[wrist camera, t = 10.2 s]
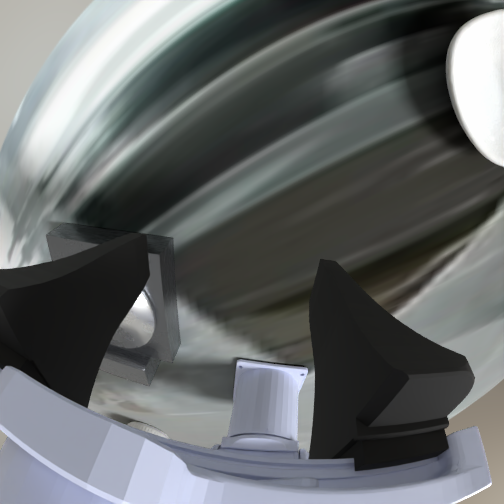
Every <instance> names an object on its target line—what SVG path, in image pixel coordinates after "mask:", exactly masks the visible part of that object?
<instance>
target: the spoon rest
mask: <svg viewBox="0 0 504 504" xmlns="http://www.w3.org/2000/svg"><path fill="white" fill-rule="evenodd" d="M446 79H447V86H448V91H449V95H450V99H451V102H452V106H453V109H454V111H455V114H456V116H457V119H458V121H459V123H460V125H461V127H462V128H463V130H464V132H465V133H466V135H467V136H468V138H469V139H470V141H471V142H472V143H473V145H474V146H475V147H476V149H477V150H478V151H479V152H480V153H481V154H482V155H483V156H484V157H486V158H487V159H488V160H490V161H491V162H493V163H495V164H497V165H500V166H503V167H504V9H500V10H495V11H492V12H488V13H485V14H482V15H479V16H477V17H475V18H473V19H471V20H470V21H468V22H467V23H465V24H464V25H463V26H462V27H461V28H460V29H459V30H458V31H457V32H456V34H455V35H454V37H453V39H452V40H451V43H450V45H449V48H448V52H447V58H446Z"/></svg>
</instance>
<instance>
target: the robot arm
mask: <svg viewBox="0 0 504 504" xmlns="http://www.w3.org/2000/svg"><path fill="white" fill-rule="evenodd" d="M149 277H150V269H149V259H148V248H147V236H146V234H141V233H130V234H126V235H123V236H120V237H118V238H115V239H112V240H110V241H107V242H105V243H102V244H100V245H97V246H95V247H92V248H90V249H87V250H84V251H82V252H79V253H77V254H74V255H71V256H68V257H65V258H61V259H58V260H55V261H51V262H46V263H42V264H37V265H33V266H27V267H21V268H13V269H0V430H1V431H2V432H4V433H5V434H6V435H7V436H8V437H7V439H6V441H5V443H4V445H3V446H2V448H1V450H0V504H455V503H457V502H460V501H462V500H464V499H466V498H468V497H470V496H472V495H474V494H476V493H478V492H480V491H482V490H483V489H485V488H487V487H489V486H490V485H491V484H492V481H491V476H490V472H489V467H488V463H487V458H486V455H485V451H484V447H483V444H482V440H481V437H480V433H479V430H478V427H477V426H473V427H470V428H467V429H463V430H460V431H456V432H454V433H452V434H450V435H448V436H446V434H445V430H444V429H445V428H447V427H448V425H449V421H448V418H447V415H448V414H449V413H450V412H452V411H453V410H454V409H455V408H456V407H457V406H458V405H459V404H460V403H461V402H462V401H463V400H464V398H465V397H466V396H467V395H468V394H469V392H470V390H471V389H472V387H473V384H474V380H475V377H474V374H473V372H472V370H471V368H470V365H469V363H468V361H467V359H466V357H465V356H463V355H461V354H458V353H456V352H454V351H451V350H449V349H447V348H444V347H442V346H440V345H438V344H436V343H434V342H432V341H431V340H429V339H427V338H425V337H423V336H422V335H420V334H418V333H416V332H415V331H413V330H412V329H410V328H409V327H407V326H406V325H404V324H403V323H401V322H400V321H399V320H397V319H396V318H395V317H393V316H392V315H391V314H389V313H388V312H387V311H386V310H384V309H383V308H382V307H381V306H380V305H379V304H377V303H376V302H375V301H374V300H373V299H372V298H371V297H370V296H369V295H368V294H367V293H366V292H365V291H364V290H363V289H362V288H361V287H360V286H359V285H358V284H357V283H356V282H355V281H354V280H353V279H352V278H351V277H350V276H349V275H348V273H347V272H346V271H345V270H344V269H343V268H342V267H341V266H340V265H339V264H338V263H337V262H336V261H331V260H324V259H320V263H319V267H318V271H317V274H316V278H315V282H314V286H313V289H312V293H311V297H310V302H309V322H310V331H311V339H312V348H313V356H314V365H315V397H314V415H313V426H312V436H311V444H310V451H309V453H308V452H306V450H305V449H300V450H299V455H298V448H299V441H297V428H298V394H299V391H300V389H301V387H302V385H303V382H304V380H305V378H306V375H307V373H308V369H307V368H306V367H297V366H288V365H279V364H271V363H263V362H256V361H249V360H242V359H240V360H237V364H236V373H235V383H234V393H233V402H234V405H233V410H232V415H231V420H230V426H229V431H228V436H227V437H223V438H222V443H221V445H219V444H216V445H214V446H213V447H212V448H211V449H209V448H205V447H200V446H196V445H191V444H187V443H183V442H179V441H175V440H172V439H168V438H165V437H161V436H158V435H155V434H152V433H148V432H145V431H142V430H139V429H137V428H134V427H131V426H128V425H126V424H123V423H120V422H118V421H115V420H113V419H111V418H108V417H106V416H103V415H101V414H99V413H96V412H94V411H92V410H90V409H88V404H89V400H90V396H91V392H92V389H93V385H94V382H95V379H96V376H97V373H98V370H99V368H100V365H101V363H102V360H103V358H104V355H105V353H106V351H107V349H108V346H109V344H110V342H111V340H112V338H113V336H114V334H115V333H116V331H117V329H118V328H119V326H120V324H121V323H122V321H123V320H124V318H125V317H126V315H127V314H128V312H129V311H130V309H131V308H132V307H133V305H134V304H135V302H136V301H137V299H138V298H139V296H140V295H141V293H142V291H143V289H144V287H145V285H146V283H147V281H148V279H149Z"/></svg>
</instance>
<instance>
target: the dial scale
mask: <svg viewBox="0 0 504 504" xmlns="http://www.w3.org/2000/svg"><path fill="white" fill-rule="evenodd" d="M130 233H133V232H126V231H119V230H112V229H105V228H97V227H90V226H83V225H76V224H69V223H63V224H62V225H60V226H59V227H57V228H56V229H54V230H53V231H51V232H50V233H48V234H47V235H46V238H47V242H48V246H49V251H50V255H51V258H52V261H55V260H58V259H61V258H65V257H68V256H71V255H74V254H77V253H79V252H82V251H84V250H87V249H90V248H92V247H95V246H97V245H100V244H102V243H105V242H107V241H110V240H112V239H115V238H118V237H120V236H123V235H126V234H130ZM146 236H147V248H148V259H149V269H150V277H149V279H148V281H147V283H146V285H145V287H144V289H143V291H142V293H141V295H140V296H139V298H138V299H137V301H136V302H135V304H134V305H133V307H132V308H131V309H130V311H129V312H128V314H127V315H126V317H125V318H124V320H123V321H122V323H121V324H120V326H119V328H118V329H117V331H116V333H115V334H114V336H113V338H112V340H111V342H110V344H109V346H108V349H107V351H106V353H105V355H104V358H103V360H102V363H101V365H100V368H99V369H100V370H103V371H105V372H108V373H111V374H113V375H116V376H119V377H122V378H125V379H128V380H131V381H134V382H137V383H140V384H143V385H146V386H150V384H151V381H152V379H153V377H154V375H155V372H156V370H157V368H158V366H159V363H160V361H161V360H163V361H167V362H171V363H173V361H174V358H175V356H176V353H177V351H178V349H179V346H180V344H181V341H180V332H179V322H178V311H177V299H176V285H175V269H174V247H173V238H169V237H162V236H155V235H148V234H146Z"/></svg>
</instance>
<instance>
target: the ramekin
mask: <svg viewBox="0 0 504 504" xmlns="http://www.w3.org/2000/svg"><path fill="white" fill-rule="evenodd" d="M127 425H128V426H131V427H134V428H137V429H139V430H142V431H145V432H148V433H152V434H155V435H158V436H161V437H165V438H168V439H169V437H168V436H167V435H166V434H165V433H164V432H162V431H160V430H159V429H157V428H155V427H153V426H150V425H148V424H145V423H141V422H136V421H133V422H130V423H128V424H127Z"/></svg>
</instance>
